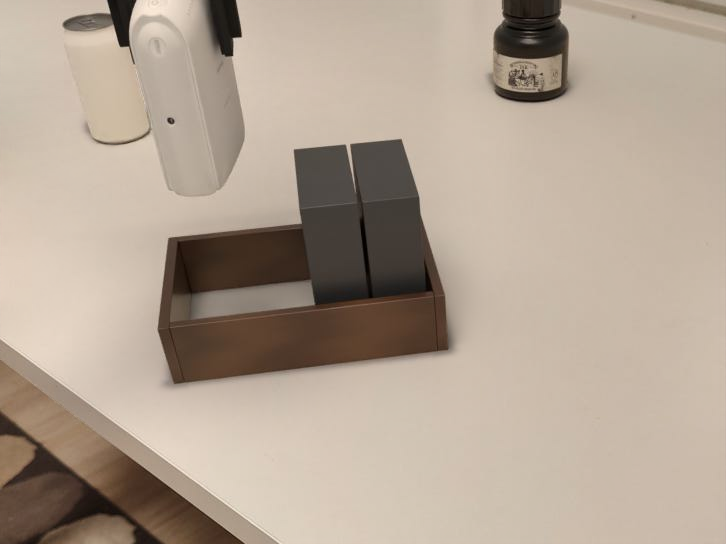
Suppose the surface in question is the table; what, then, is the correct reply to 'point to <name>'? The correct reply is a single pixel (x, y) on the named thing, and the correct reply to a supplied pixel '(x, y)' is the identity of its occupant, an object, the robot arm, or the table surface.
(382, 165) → the charcoal box
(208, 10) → the photo printer
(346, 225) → the charcoal box
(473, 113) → the table surface
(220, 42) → the robot arm
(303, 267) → the brown wooden tray
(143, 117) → the can
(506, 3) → the ink bottle
